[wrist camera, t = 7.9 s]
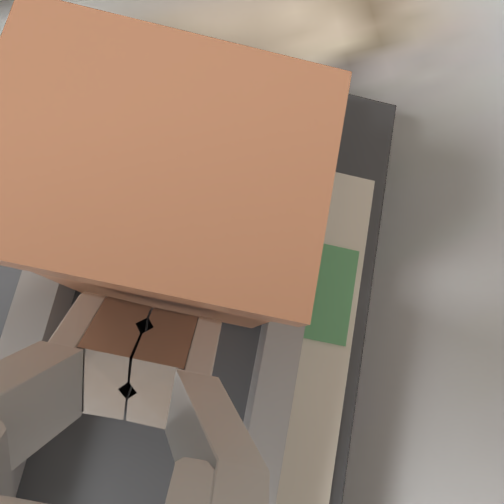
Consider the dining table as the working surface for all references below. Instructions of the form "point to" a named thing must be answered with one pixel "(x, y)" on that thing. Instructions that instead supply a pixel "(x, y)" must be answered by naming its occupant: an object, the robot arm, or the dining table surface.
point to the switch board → (237, 361)
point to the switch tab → (165, 164)
